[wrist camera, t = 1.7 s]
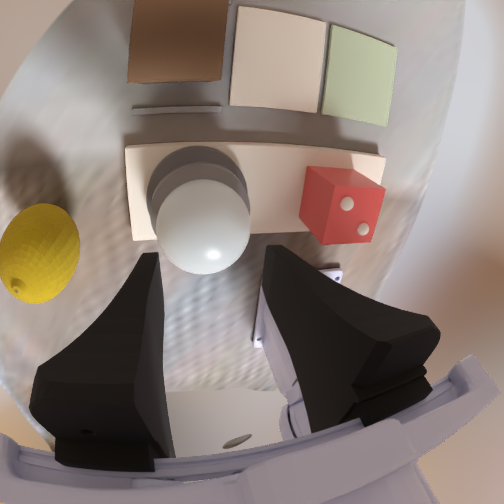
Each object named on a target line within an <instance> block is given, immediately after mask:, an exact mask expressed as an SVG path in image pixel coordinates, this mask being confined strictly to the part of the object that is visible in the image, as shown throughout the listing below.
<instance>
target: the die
mask: <svg viewBox="0 0 504 504" xmlns="http://www.w3.org/2000/svg"><path fill="white" fill-rule="evenodd" d="M385 190H386V189H385V188H383V187H382V186H380V185H378V184H377V183H375V182H374V181H372V180H370V179H369V178H367V177H366V176H364V175H362V174H361V173H359V172H357V171H356V170H354V169H344V168H332V167H318V166H307V169H306V175H305V181H304V187H303V194H302V200H301V206H300V211H299V218H300V220H301V221H302V222H303V223H304V224H305V225H306V227H307V228H308V229H309V230H310V231H311V232H312V234H313V235H314V236H315V237H316V238H317V240H318V241H319V242H320V243H321V244H322V245H331V244H348V243H364V242H371V239H372V236H373V233H374V230H375V226H376V223H377V219H378V216H379V212H380V209H381V205H382V202H383V198H384V194H385Z"/></svg>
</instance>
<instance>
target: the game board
mask: <svg viewBox="0 0 504 504" xmlns="http://www.w3.org/2000/svg"><path fill="white" fill-rule="evenodd" d="M231 3H232V0H229V4H228V5H231ZM325 34H326V23H325V22H322V21H318V20H314V19H310V18H306V17H302V16H297V15H293V14H288V13H283V12H277V11H271V10H265V9H259V8H251V7H243V6H239V7H238V13H237V23H236V32H235V42H234V53H233V64H232V75H231V87H230V100H229V105H233V106H252V107H265V108H276V109H286V110H295V111H303V112H310V113H317V105H318V97H319V89H320V81H321V72H322V63H323V54H324V44H325ZM396 57H397V48H395V47H393V46H391V45H388V44H386V43H384V42H381V41H379V40H376V39H374V38H371V37H368V36H366V35H363V34H360V33H357V32H354V31H351V30H348V29H345V28H342V27H339V26H336V25H331V29H330V39H329V49H328V59H327V68H326V76H325V85H324V93H323V101H322V108H321V114H324V115H330V116H336V117H342V118H347V119H352V120H357V121H362V122H367V123H371V124H376V125H380V126H384V127H387V122H388V117H389V111H390V104H391V98H392V91H393V83H394V75H395V67H396ZM191 112H213V113H222V106H173V107H152V108H138V109H132V115H144V114H160V113H191ZM125 160H126V176H127V189H128V200H129V209H130V218H131V227H132V234H133V241H138V240H153V239H157V236H156V235H155V233H154V231H153V228H152V225H151V220H150V209H151V202H152V197H153V194H154V191H155V189H156V187H157V185H158V184H159V182H160V181H161V179H162V178H163V177H164V176H165V175H166V174H167V173H168V172H170V171H171V170H173V169H174V168H176V167H178V166H180V165H182V164H185V163H189V162H194V161H208V162H213V163H216V164H219V165H222V166H224V167H226V168H227V169H229V170H230V171H231V172H232V173H234V174H235V176H236V177H237V178H238V179H239V181H240V182H241V184H242V185H243V187H244V188H245V190H246V192H247V194H248V197H249V201H250V223H251V231H250V234H260V233H282V232H305V231H310V230H309V229H308V228H307V227H306V225H305V224H304V223H303V222H302V221H301V220H300V218H299V211H300V206H301V200H302V194H303V187H304V181H305V175H306V169H307V166H318V167H332V168H344V169H354V170H356V171H357V172H359V173H361V174H362V175H364V176H366V177H367V178H369V179H370V180H372V181H374V182H375V183H377V184H378V185H380V183H381V179H382V175H383V170H384V166H385V162H386V158H385V157H383V156H381V155H378V154H371V153H365V152H358V151H350V150H342V149H334V148H325V147H315V146H304V145H292V144H277V143H256V142H174V143H154V144H140V145H128V146H127V147H126V148H125Z"/></svg>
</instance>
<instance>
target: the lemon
mask: <svg viewBox="0 0 504 504" xmlns="http://www.w3.org/2000/svg"><path fill="white" fill-rule="evenodd" d="M79 254H80V239H79V233H78V230H77V227H76V225H75V222H74V221H73V219H72V218H71V217H70V215H69V214H68V213H67V212H66V211H65V210H63V209H62V208H60V207H58V206H56V205H52V204H49V203H40V204H35V205H32V206H29V207H27V208H25V209H24V210H23V211H21V212H20V213H19V214H18V215H16V216H15V217H14V218H13V220H12V221H11V222H10V224H9V225H8V227H7V228H6V230H5V232H4V234H3V236H2V239H1V242H0V277H1V280H2V282H3V284H4V285H5V287H6V288H7V290H8V291H9V292H10V293H11V294H12V295H13V296H15V297H16V298H17V299H19V300H21V301H24V302H28V303H43V302H46V301H49V300H51V299H52V298H54V297H55V296H56V295H58V294H59V293H60V292H61V291H62V290H63V289H64V287H65V286H66V285H67V283H68V282H69V280H70V279H71V277H72V276H73V274H74V271H75V269H76V266H77V263H78V260H79Z"/></svg>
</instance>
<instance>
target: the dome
mask: <svg viewBox="0 0 504 504" xmlns="http://www.w3.org/2000/svg"><path fill="white" fill-rule="evenodd" d="M150 220H151V225H152V228H153V231H154V233H155V235H156V236H157V239H158V242H159V245H160V247H161V249H162V251H163V252H164V254H165V255H166V257H167V258H168V259H169V260H170V261H171V262H172V263H173V264H174V265H176V266H177V267H179V268H180V269H182V270H184V271H187V272H190V273H194V274H212V273H216V272H219V271H222V270H224V269H226V268H227V267H229V266H231V265H232V264H233V263H234V262H235V261H236V260H237V259H238V258H239V257H240V256H241V255H242V253H243V252H244V250H245V248H246V246H247V244H248V241H249V237H250V231H251V223H250V201H249V197H248V194H247V192H246V190H245V188H244V187H243V185H242V184H241V182H240V181H239V179H238V178H237V177H236V176H235V174H234V173H232V172H231V171H230V170H229V169H227V168H226V167H224V166H222V165H219V164H216V163H213V162H208V161H194V162H189V163H185V164H182V165H180V166H178V167H176V168H174V169H173V170H171V171H170V172H168V173H167V174H166V175H165V176H164V177H163V178H162V179H161V181H160V182H159V184H158V185H157V187H156V189H155V191H154V194H153V197H152V202H151V209H150Z"/></svg>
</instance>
